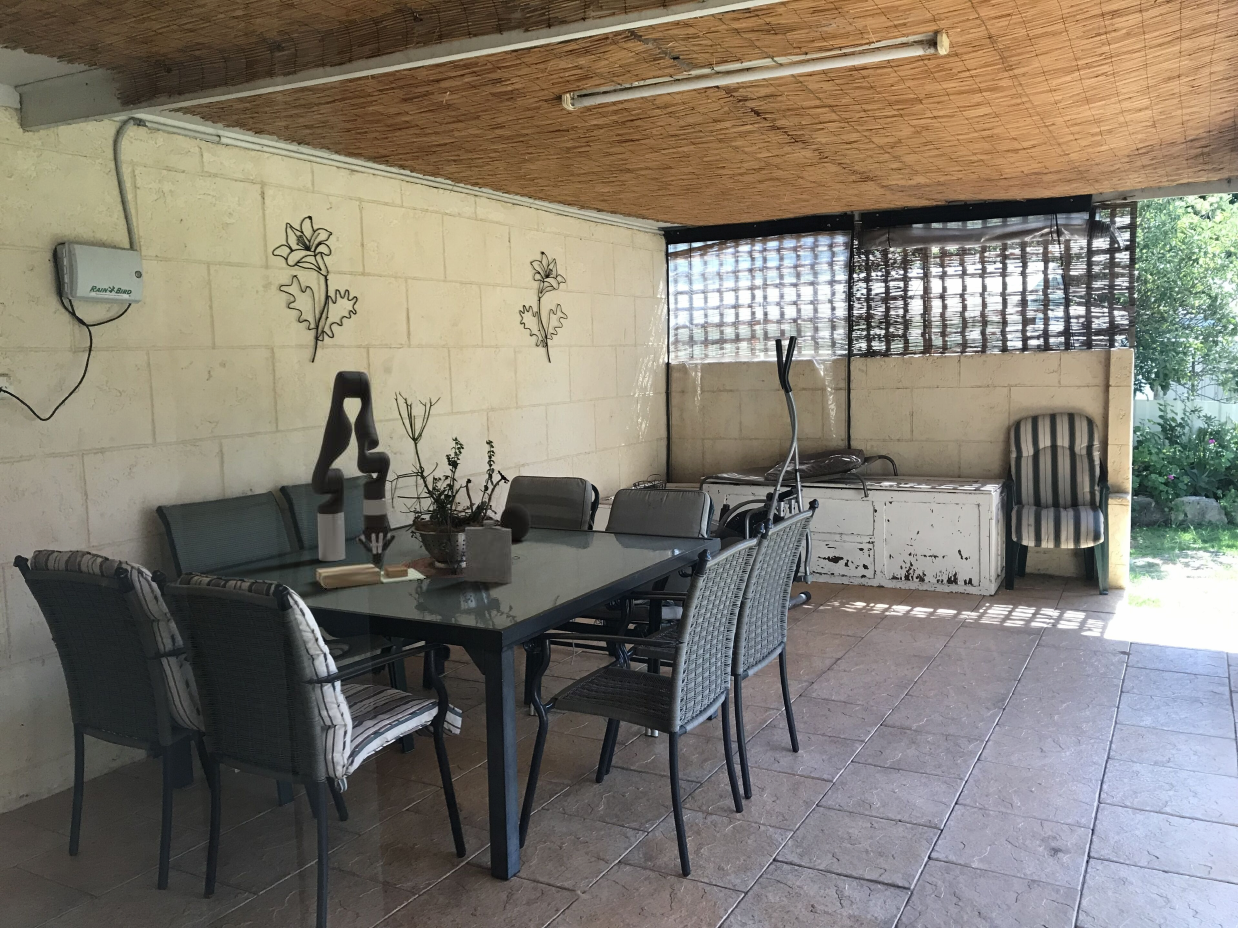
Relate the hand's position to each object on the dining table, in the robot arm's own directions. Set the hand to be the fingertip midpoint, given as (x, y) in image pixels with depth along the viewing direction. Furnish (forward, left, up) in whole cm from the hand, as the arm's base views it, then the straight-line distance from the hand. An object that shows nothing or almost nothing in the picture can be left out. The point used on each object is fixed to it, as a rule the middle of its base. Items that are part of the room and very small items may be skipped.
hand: (376, 563), depth 327 cm
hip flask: (+21, +32, -5) cm, 38 cm away
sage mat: (0, +7, -5) cm, 9 cm away
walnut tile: (0, +6, -3) cm, 7 cm away
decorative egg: (-44, +67, -5) cm, 80 cm away
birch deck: (0, -9, -5) cm, 11 cm away
